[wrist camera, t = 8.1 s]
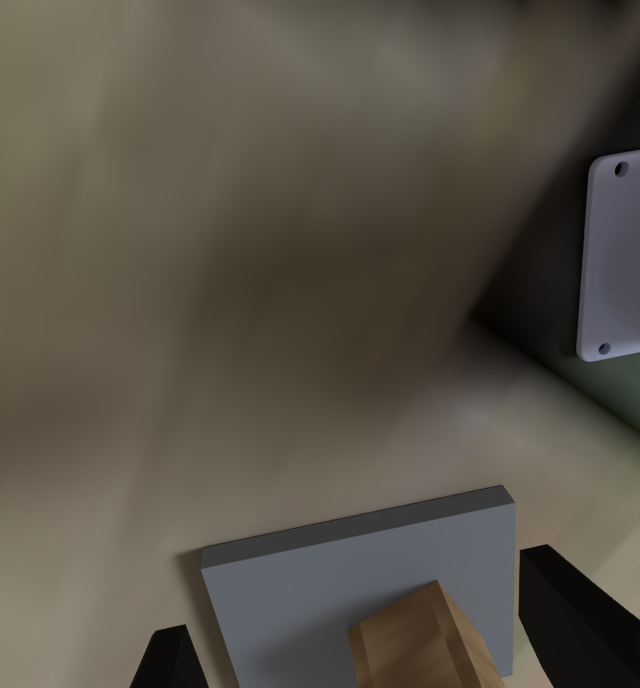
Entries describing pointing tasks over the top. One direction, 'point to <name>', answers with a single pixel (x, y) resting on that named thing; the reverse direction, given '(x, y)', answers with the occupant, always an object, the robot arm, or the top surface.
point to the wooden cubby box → (422, 646)
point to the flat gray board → (359, 585)
